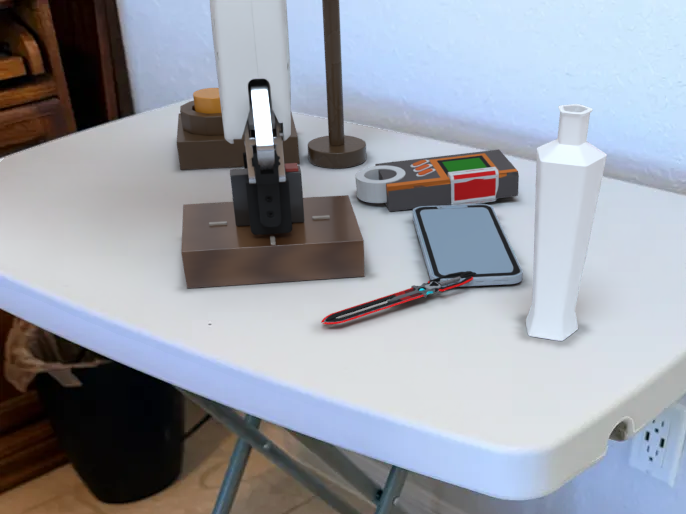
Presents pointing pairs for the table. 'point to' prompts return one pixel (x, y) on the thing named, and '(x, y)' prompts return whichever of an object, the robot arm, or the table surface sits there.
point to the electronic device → (439, 181)
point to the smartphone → (466, 244)
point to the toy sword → (400, 297)
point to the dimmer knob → (241, 201)
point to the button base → (217, 142)
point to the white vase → (563, 222)
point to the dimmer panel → (271, 246)
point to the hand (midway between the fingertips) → (269, 214)
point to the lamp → (335, 103)
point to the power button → (207, 100)
